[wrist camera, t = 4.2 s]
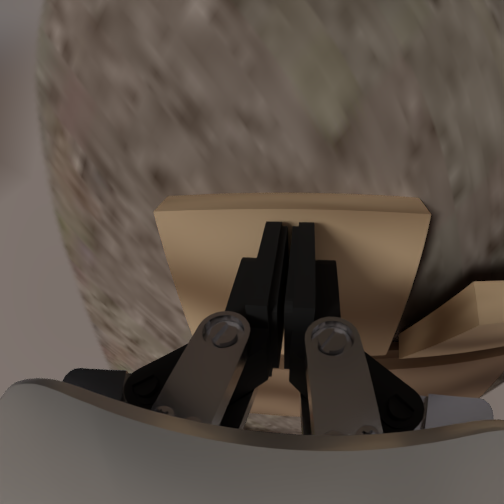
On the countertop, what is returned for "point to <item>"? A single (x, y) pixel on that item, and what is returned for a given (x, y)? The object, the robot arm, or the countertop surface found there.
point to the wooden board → (408, 370)
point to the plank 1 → (290, 214)
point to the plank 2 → (459, 324)
